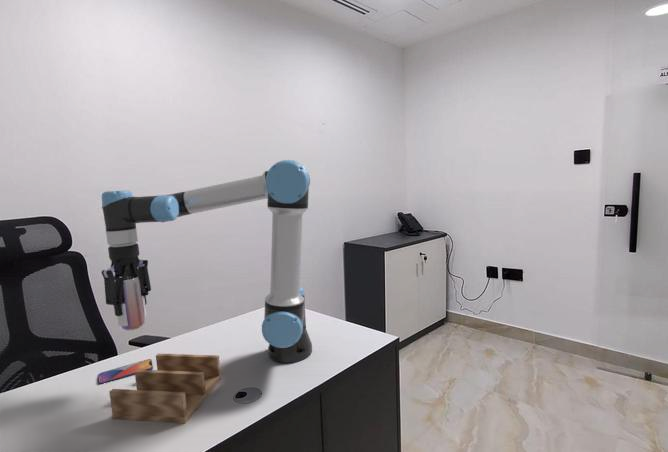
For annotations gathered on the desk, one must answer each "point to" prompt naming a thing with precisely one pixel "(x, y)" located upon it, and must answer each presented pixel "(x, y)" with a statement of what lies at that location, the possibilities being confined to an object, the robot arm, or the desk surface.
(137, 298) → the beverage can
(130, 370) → the smartphone
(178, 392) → the rack
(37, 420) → the desk surface
